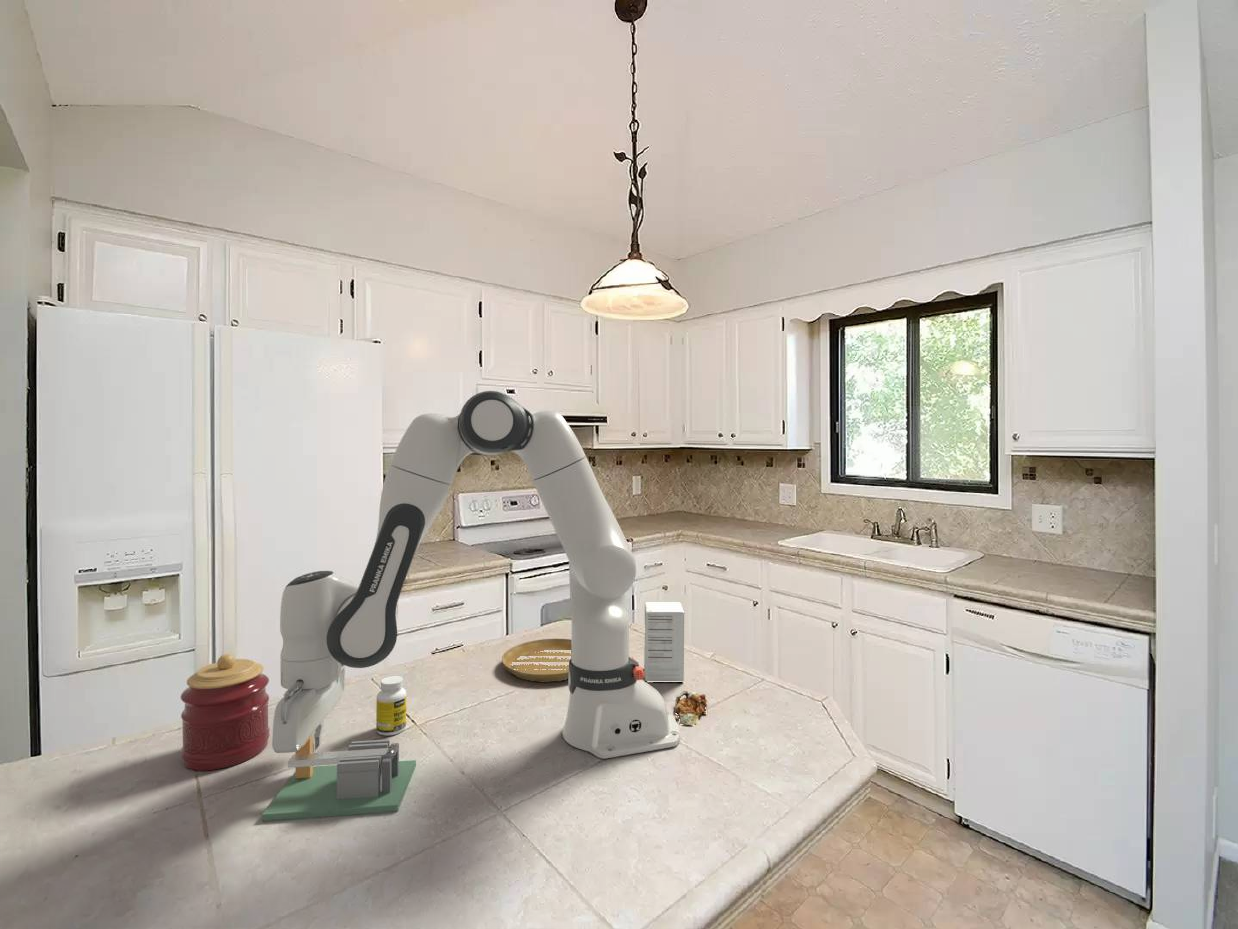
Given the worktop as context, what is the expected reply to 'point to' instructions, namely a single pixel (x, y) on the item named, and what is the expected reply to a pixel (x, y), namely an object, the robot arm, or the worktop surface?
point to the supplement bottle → (391, 707)
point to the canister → (224, 714)
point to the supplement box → (664, 641)
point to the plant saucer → (538, 660)
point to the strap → (338, 756)
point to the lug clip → (306, 748)
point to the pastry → (689, 707)
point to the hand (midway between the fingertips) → (311, 750)
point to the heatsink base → (326, 796)
